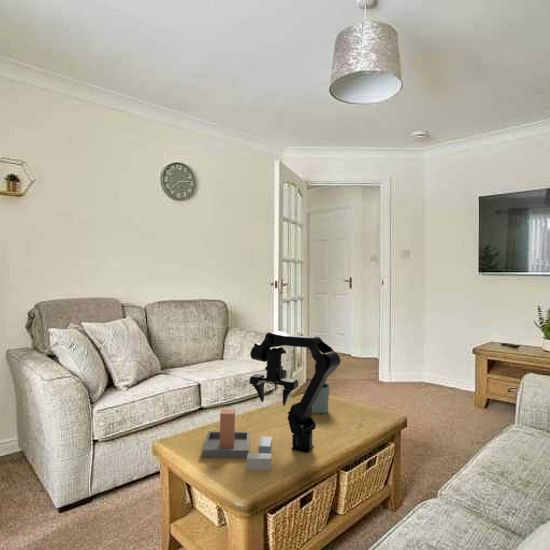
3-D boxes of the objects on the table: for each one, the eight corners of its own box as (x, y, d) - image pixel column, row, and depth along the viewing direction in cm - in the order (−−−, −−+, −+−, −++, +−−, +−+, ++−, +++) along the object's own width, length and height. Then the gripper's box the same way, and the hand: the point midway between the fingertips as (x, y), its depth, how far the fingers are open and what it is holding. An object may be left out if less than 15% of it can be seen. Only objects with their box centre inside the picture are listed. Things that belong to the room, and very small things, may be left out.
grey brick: (271, 465, 135) (271, 453, 135) (271, 471, 131) (271, 459, 131) (247, 464, 135) (247, 452, 135) (246, 470, 131) (246, 458, 131)
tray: (249, 438, 156) (249, 431, 156) (248, 457, 140) (248, 450, 140) (208, 438, 155) (208, 431, 155) (202, 457, 139) (202, 450, 139)
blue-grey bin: (323, 416, 181) (323, 389, 181) (303, 411, 186) (303, 385, 186) (332, 409, 189) (333, 384, 189) (313, 405, 195) (314, 380, 195)
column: (234, 442, 150) (235, 408, 150) (233, 448, 145) (234, 413, 145) (221, 442, 150) (221, 408, 150) (219, 448, 145) (220, 413, 145)
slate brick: (261, 447, 149) (261, 436, 149) (271, 447, 148) (272, 437, 148) (258, 457, 141) (258, 445, 141) (269, 458, 140) (270, 446, 140)
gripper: (303, 362, 161) (302, 401, 161) (261, 357, 168) (260, 394, 169) (293, 368, 151) (292, 410, 151) (249, 362, 158) (248, 402, 158)
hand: (273, 403), depth 157 cm, fingers open, 9 cm apart
